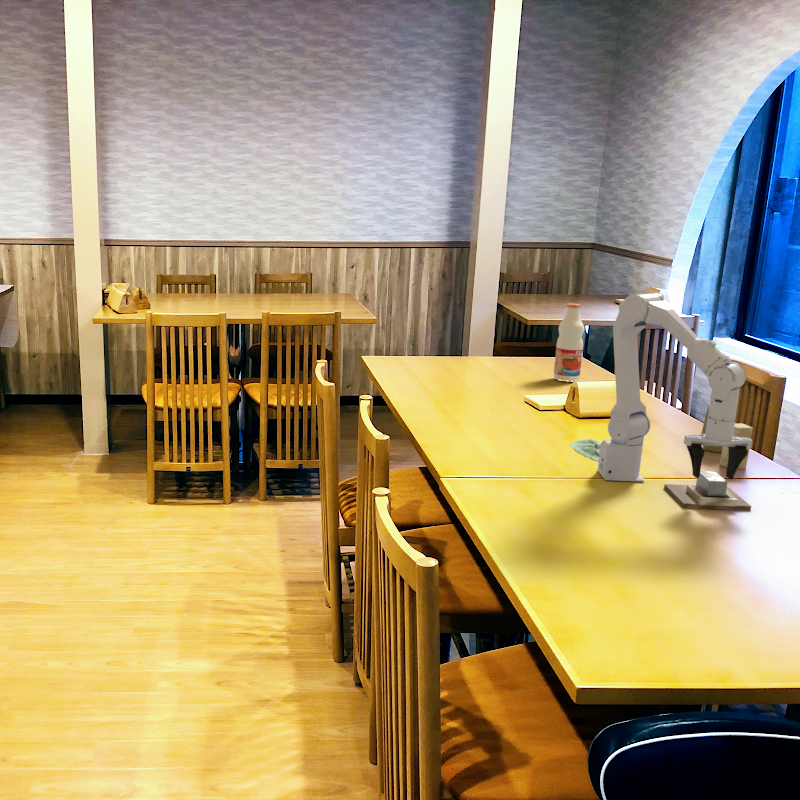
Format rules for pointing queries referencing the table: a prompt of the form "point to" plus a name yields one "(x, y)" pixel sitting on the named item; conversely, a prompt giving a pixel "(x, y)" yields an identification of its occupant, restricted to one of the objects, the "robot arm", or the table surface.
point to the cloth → (587, 448)
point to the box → (739, 431)
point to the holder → (705, 498)
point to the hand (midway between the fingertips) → (712, 477)
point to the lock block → (711, 485)
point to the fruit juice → (569, 345)
